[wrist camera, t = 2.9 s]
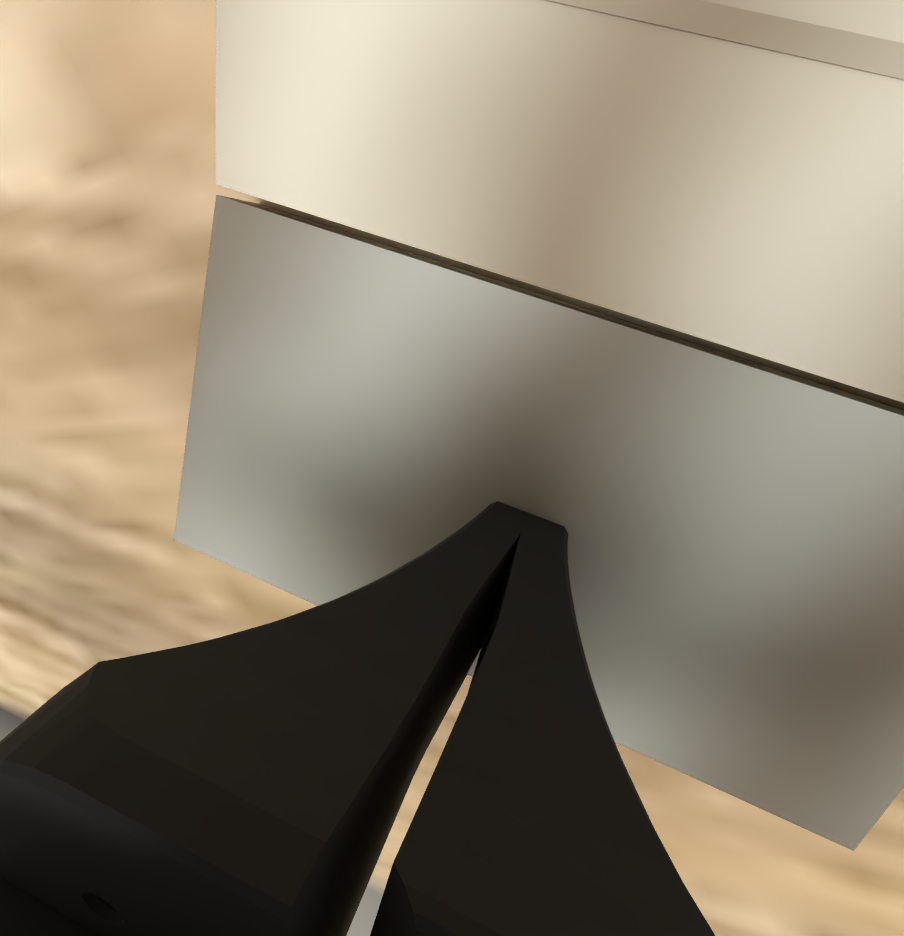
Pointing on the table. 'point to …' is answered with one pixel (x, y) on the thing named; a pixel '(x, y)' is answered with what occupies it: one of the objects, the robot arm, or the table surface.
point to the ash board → (602, 153)
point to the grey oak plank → (569, 496)
